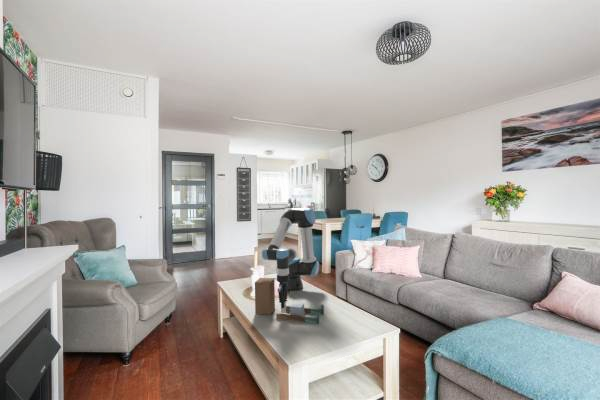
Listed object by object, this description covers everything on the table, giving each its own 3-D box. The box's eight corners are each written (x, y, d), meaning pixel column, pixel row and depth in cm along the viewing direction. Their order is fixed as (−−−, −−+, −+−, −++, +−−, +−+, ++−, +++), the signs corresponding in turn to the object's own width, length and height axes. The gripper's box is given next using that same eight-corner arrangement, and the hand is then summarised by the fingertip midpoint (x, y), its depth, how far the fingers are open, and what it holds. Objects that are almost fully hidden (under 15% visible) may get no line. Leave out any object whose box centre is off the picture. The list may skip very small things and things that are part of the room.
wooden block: (270, 315, 175) (269, 282, 174) (255, 314, 177) (254, 282, 176) (275, 308, 184) (274, 278, 184) (260, 307, 186) (259, 277, 186)
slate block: (293, 313, 177) (293, 302, 176) (304, 314, 175) (304, 303, 174) (290, 318, 170) (289, 306, 170) (301, 319, 168) (301, 307, 168)
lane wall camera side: (277, 318, 170) (276, 308, 170) (319, 322, 163) (319, 312, 163) (276, 319, 169) (276, 309, 169) (318, 324, 161) (318, 313, 161)
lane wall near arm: (284, 310, 182) (284, 300, 182) (323, 314, 175) (323, 304, 174) (283, 310, 181) (283, 301, 181) (323, 315, 173) (323, 305, 173)
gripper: (280, 271, 182) (281, 307, 182) (273, 276, 169) (273, 316, 170) (292, 272, 180) (292, 308, 180) (285, 277, 167) (285, 317, 167)
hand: (283, 312), depth 175 cm, fingers closed
